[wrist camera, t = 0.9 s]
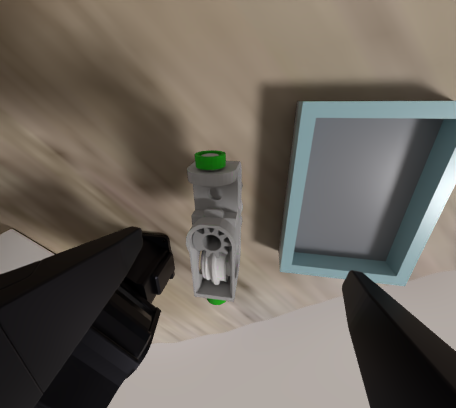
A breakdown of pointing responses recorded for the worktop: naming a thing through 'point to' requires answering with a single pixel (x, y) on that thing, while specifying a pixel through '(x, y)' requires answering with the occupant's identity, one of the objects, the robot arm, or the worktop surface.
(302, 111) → the tray
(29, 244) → the milk carton
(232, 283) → the mechanical component
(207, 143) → the worktop surface
